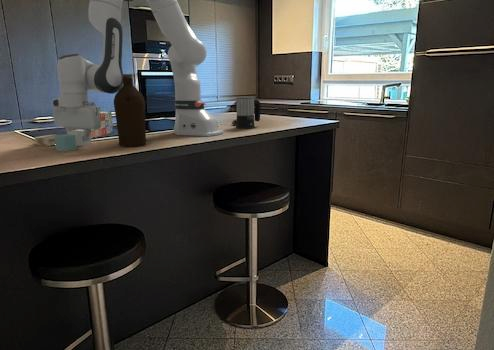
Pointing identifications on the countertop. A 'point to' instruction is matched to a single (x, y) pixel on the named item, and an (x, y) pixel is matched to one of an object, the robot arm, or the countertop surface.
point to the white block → (79, 137)
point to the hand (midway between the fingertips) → (79, 139)
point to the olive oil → (130, 114)
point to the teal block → (65, 142)
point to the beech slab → (45, 140)
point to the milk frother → (247, 112)
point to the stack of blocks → (102, 124)
